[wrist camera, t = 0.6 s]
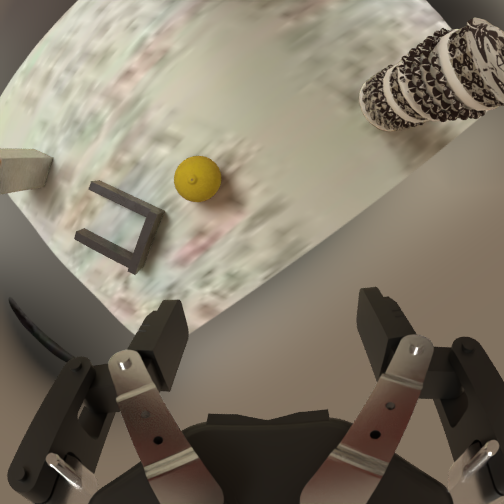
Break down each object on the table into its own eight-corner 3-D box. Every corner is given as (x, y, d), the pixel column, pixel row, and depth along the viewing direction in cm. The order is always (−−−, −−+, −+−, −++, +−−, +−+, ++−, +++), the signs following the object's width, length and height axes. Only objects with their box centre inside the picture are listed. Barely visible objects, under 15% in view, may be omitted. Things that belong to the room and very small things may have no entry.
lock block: (26, 177, 36) (-26, 184, 24) (34, 149, 35) (-19, 148, 22) (44, 187, 36) (-9, 196, 24) (53, 157, 35) (-1, 158, 23)
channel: (82, 235, 39) (70, 240, 35) (99, 180, 37) (87, 181, 33) (143, 266, 40) (135, 274, 37) (164, 210, 38) (157, 214, 35)
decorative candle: (350, 73, 33) (454, -9, 9) (404, 78, 33) (521, 27, 9) (360, 133, 36) (490, 100, 12) (414, 134, 36) (547, 121, 11)
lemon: (194, 206, 38) (181, 214, 30) (175, 170, 37) (157, 170, 29) (231, 186, 37) (227, 190, 30) (211, 150, 36) (202, 144, 28)
